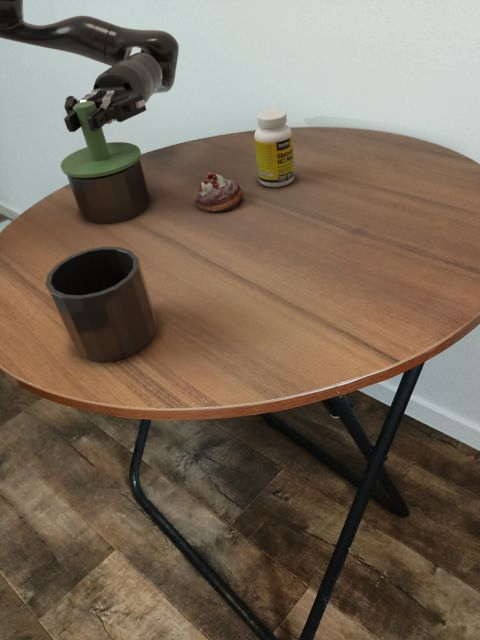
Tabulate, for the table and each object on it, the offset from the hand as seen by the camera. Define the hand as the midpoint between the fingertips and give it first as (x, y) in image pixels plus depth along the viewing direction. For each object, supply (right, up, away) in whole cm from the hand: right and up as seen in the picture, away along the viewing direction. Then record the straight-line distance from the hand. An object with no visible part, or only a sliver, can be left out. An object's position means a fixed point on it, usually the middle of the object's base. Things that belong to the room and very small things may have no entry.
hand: (79, 124), depth 77 cm
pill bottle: (+29, -4, +14) cm, 33 cm away
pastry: (+20, -9, +10) cm, 24 cm away
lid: (+1, -3, +6) cm, 7 cm away
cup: (+9, -31, -14) cm, 35 cm away
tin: (+2, -9, +12) cm, 15 cm away
